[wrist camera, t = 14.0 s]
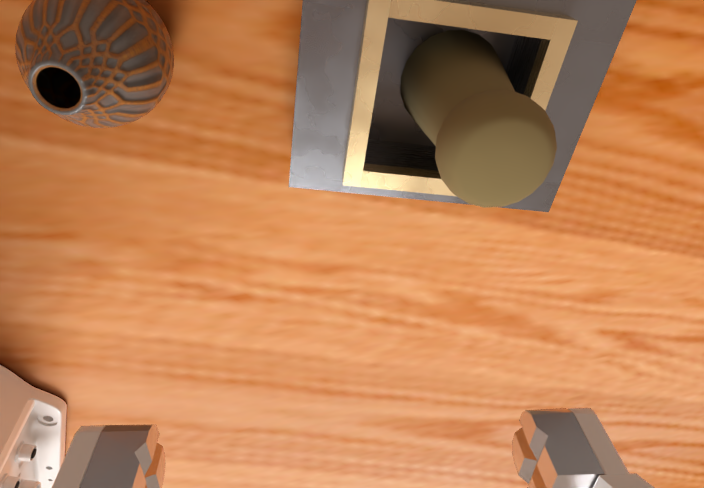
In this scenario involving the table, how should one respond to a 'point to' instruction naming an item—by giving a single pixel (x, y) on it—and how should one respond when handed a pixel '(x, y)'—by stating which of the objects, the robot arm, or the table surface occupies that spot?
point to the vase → (95, 59)
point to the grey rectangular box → (385, 83)
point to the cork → (477, 120)
